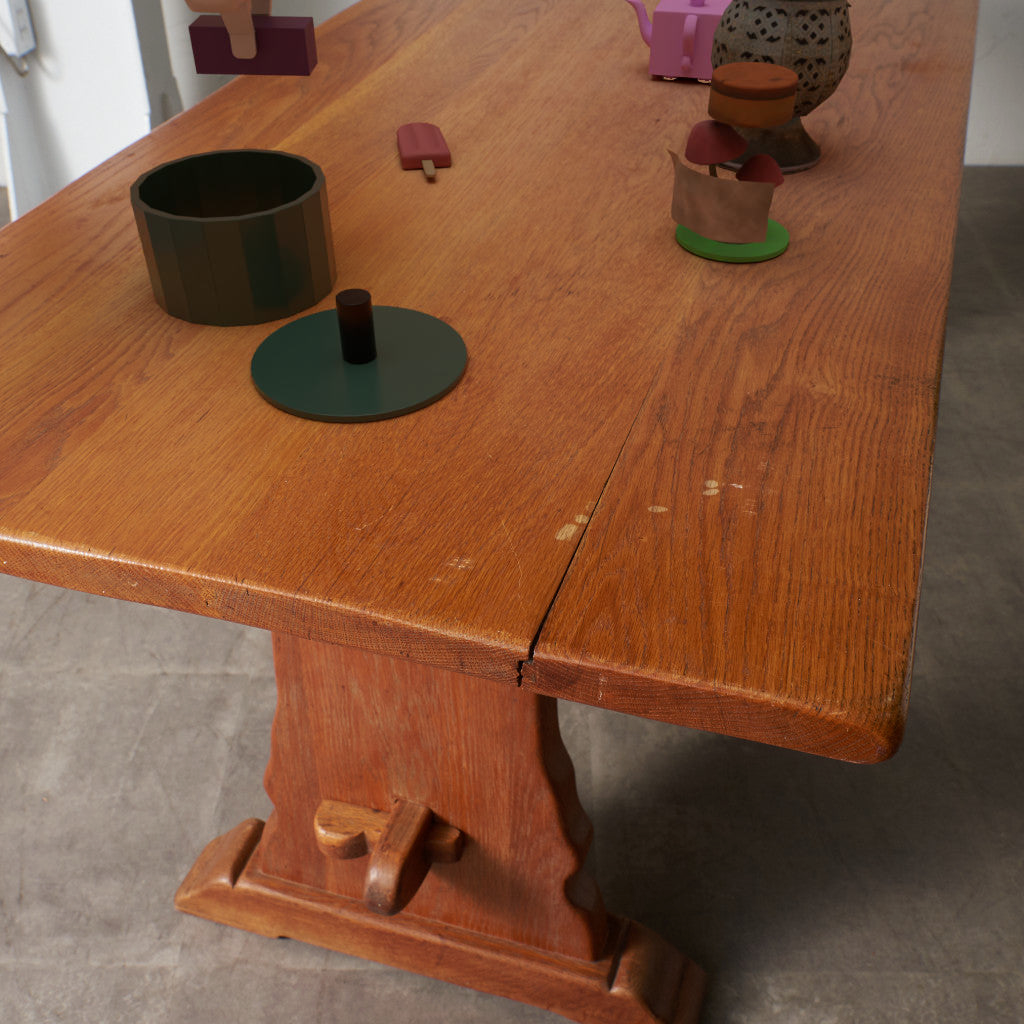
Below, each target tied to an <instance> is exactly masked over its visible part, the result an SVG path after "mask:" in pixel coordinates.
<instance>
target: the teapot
mask: <svg viewBox="0 0 1024 1024" xmlns="http://www.w3.org/2000/svg"><path fill="white" fill-rule="evenodd" d="M624 1H625V2H626V3H628V4H629V5H631V7H632V8H633V9H634V11H635V14H636V18H637V22H638V28H639V33H640V36H641V38H642V40H643V42H644V44H645V45H646V46H647V47H648V48H650V49H649V59H648V60H649V61H648V73H647V74H648V75H654V76H662V77H666V78H670V79H672V78H677V79H678V77H679V78H690V79H691V78H693V79H697V80H698V79H699V80H705V81H709V80H711V79H712V73H713V67H712V63H711V53H712V45H713V36H714V33H715V31H716V28H717V26H718V24H719V22H720V20H721V17H722V15H723V13H724V11H725V9H726V8H727V7H728V5H729V4H730V3H731V2H732V0H660V1H659V2H658V3H657V5H656V7H655V9H654V10H653V11H652V23H651V21H650V19H649V17H648V12H647V9H646V6H645V4H644V3H643V2H642V1H641V0H624Z"/></svg>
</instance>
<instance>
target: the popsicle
mask: <svg viewBox="0 0 1024 1024" xmlns="http://www.w3.org/2000/svg"><path fill="white" fill-rule="evenodd" d="M396 141H397V147H398V154H399V158H400V162H401V166H402V168H403V170H412V169H415V170H416V169H423V171H424V174H425V177H426V178H435V177H436V176H437V171H436V168H442V167H443V168H444V167H451V165H452V153H451V151H450V149H449V146H448V144H447V141H446V140H445V137H444V135H443V133H442V131H441V128H440V127H439V126H437V125H436V124H434V123H429V122H417V121H416V122H410V123H405V124H403V125H400V126H399V128H398V129H396Z"/></svg>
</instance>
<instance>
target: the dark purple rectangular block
mask: <svg viewBox="0 0 1024 1024" xmlns="http://www.w3.org/2000/svg"><path fill="white" fill-rule="evenodd" d="M252 21H253V26H254V29H257V34H258V43H259V51H258V53H257V54H256V55H255V57H254V58H252V59H242V58H236V57H235V56H234V55H233V53H232V47H231V41H230V35H229V33H228V31H227V28H226V26H225V24H224V21H223V19H222V17H221V14H200V15H199V16H198V17H197V18H196V19H195V20H194V21H192V22H191V23H190V24H189V25H188V27H187V28H188V34H189V40H190V45H191V50H192V56H193V61H194V62H193V63H194V67H195V72H196V74H197V75H229V76H230V75H232V76H280V77H282V76H285V77H310V76H311V74H312V73H313V72H314V70H315V68H316V66H317V65H318V63H319V61H318V60H319V59H318V51H317V43H316V34H315V23H314V17H313V16H290V15H287V16H286V15H285V16H284V15H271V16H252Z"/></svg>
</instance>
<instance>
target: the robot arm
mask: <svg viewBox="0 0 1024 1024" xmlns="http://www.w3.org/2000/svg"><path fill="white" fill-rule="evenodd" d="M184 2H185V5H186V6H187V8H188V9H189V10H190V11H191V12H193V13H203V14H204V13H206V14H207V13H209V14H219V15H221V17H222V19H223V21H224V24H225V26H226V28H227V31H228V33H229V35H230V41H231V47H232V53H233V55H234V56H235V57H236V58H242V59H252V58H254V57H255V55H256V54H257V53H258V51H259V43H258V34H257V29H254V26H253V21H252V16H272V8H273V0H184Z"/></svg>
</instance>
